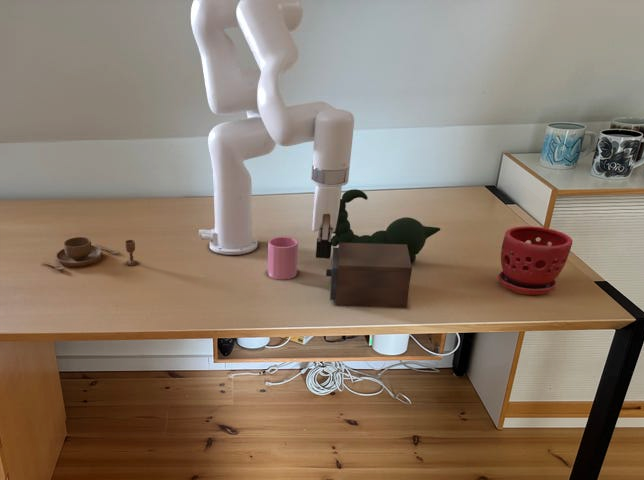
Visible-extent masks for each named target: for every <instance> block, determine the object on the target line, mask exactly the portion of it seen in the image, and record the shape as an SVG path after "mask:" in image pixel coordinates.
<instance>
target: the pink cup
mask: <svg viewBox="0 0 644 480" xmlns="http://www.w3.org/2000/svg"><path fill="white" fill-rule="evenodd" d="M298 251H299V240H298V239H296V238H293V237H291V236H276V237H273V238H271V239H269V240H268V242H267V274H268V276H269V277H270V278H271V279H275V280H290V279H293V278H295V277H296V276H297V274H298V257H299V256H298V255H299V254H298Z"/></svg>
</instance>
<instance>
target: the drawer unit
mask: <svg viewBox="0 0 644 480" xmlns="http://www.w3.org/2000/svg"><path fill="white" fill-rule="evenodd" d="M337 246H338V247H337V248H338V275H337V289H336V300H334V301H335V302H334V303H335V304H334V305H335V306H347V307H348V306H350V307H370V308H371V307H372V308H391V309H393V308H395V309H407V306H408V302H409V301H408V300H409V293H410V285H411V280H412V279H411V278H412V270H413V267H412V264H411V261H410V257H409V252H408V247H407V245H406V244H370V243H339V245H337Z"/></svg>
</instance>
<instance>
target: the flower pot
mask: <svg viewBox="0 0 644 480" xmlns="http://www.w3.org/2000/svg"><path fill="white" fill-rule="evenodd" d="M538 238H539V239H540V240H537V239H538ZM527 241H530V243H529V242H527ZM549 243H551V245H549ZM572 246H573V239H572V237H571V236H570V235H568V234H566V233H564V232H562V231H560V230H556V229H552V228H548V227H543V226H542V227H541V226H533V225H531V226H530V225H529V226H515V227H514V226H513V227H511V228H509V229H507V230H505V233H504V237H503V241H502V245H501V251H500V265H501V269H502V271H500V272H499V274H498V281H499V283H500V284H501V285H502V286H503V287H504V288H505V289H507V290H509V291H511V292H513V293H515V294H521V295H522V294H523V295H531V296H535V295H544V294H547V293H549V292H551V291H553V290H554V289H555V288H556V286H557V280H556V278H557V277H558V276H559V275H560V274H561V272H562V271H563V269H564V267H565V265H566V263H567V262H568V258H569V255H570V252H571V249H572Z"/></svg>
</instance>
